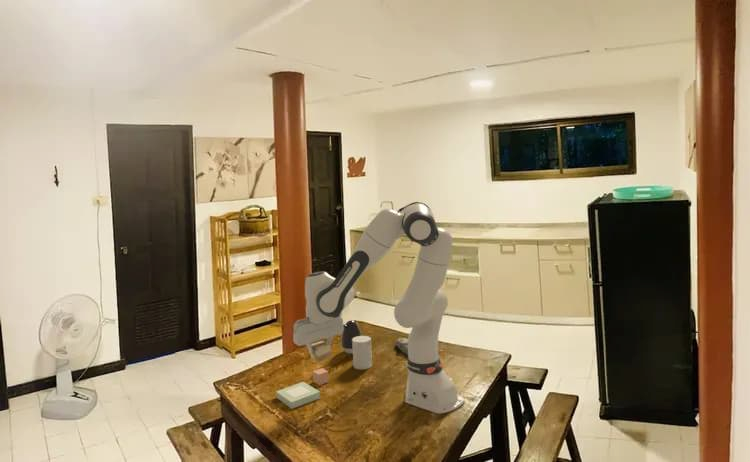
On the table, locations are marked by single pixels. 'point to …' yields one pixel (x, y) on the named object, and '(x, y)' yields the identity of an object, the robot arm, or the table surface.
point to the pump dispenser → (349, 335)
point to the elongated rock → (402, 345)
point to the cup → (362, 352)
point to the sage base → (297, 395)
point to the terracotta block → (320, 376)
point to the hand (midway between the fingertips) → (319, 350)
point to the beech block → (321, 351)
